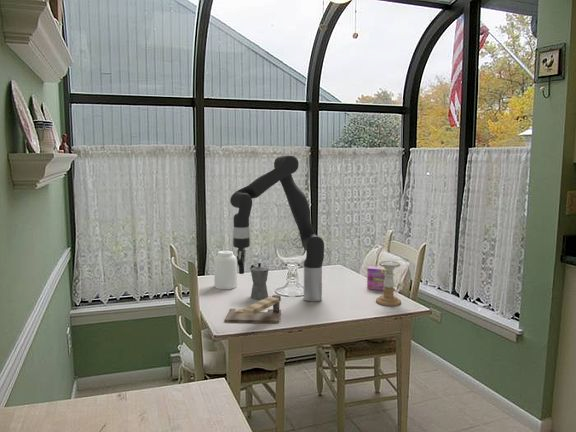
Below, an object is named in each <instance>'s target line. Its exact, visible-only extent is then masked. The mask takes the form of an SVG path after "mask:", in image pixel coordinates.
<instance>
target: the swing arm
mask: <svg viewBox="0 0 576 432" xmlns="http://www.w3.org/2000/svg"><path fill="white" fill-rule="evenodd" d="M279 301H280V302H281V301H282V300H281V295H279V294H273V295H272V296H268V297H267V298H265V299H261V300H259V301H256V302H254V303H252V304H250V305H248V306H246V307H243V308H242V309H243V313H244V314H249V315H254V314H256V313H258V312H260V311H262V310H264V309H268V308H270V307H273V305H275V304H277V303H279Z"/></svg>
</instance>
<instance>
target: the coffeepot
mask: <svg viewBox="0 0 576 432" xmlns="http://www.w3.org/2000/svg"><path fill="white" fill-rule="evenodd" d="M257 265H258V266H257ZM257 265H255V264H251V266H250V272H251V273H250V274H251V280H252V287H251V292H250V293H251V294H250V298H252V299H253V300H259V301H261V300H263V299H265V298H267V297H269V292H268V288H267V281H268V274H269V268H268V267H266V266H262V263H261V262H258V263H257Z"/></svg>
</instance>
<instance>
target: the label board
mask: <svg viewBox="0 0 576 432" xmlns="http://www.w3.org/2000/svg"><path fill="white" fill-rule="evenodd" d="M280 303H281V301H279V303H277V304H275V305H272V309H270V308H269V309H268V308H266V309H264V310H262V311H260V312H258V313H256V314H254V315H249V314H244V313H243V308H229V310H228V312H227V313H226V314H227V315H226V316H225V318H224V323H251V324H279V323H280V320H281V315H282V314H281V312H282V309H280Z"/></svg>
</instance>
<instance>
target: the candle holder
mask: <svg viewBox="0 0 576 432" xmlns="http://www.w3.org/2000/svg"><path fill="white" fill-rule="evenodd" d="M378 265H379V267H384V268H385V269H386V273H385V274H384V275H385V280H384V283H383V285H384V286H385V287H384V288H383V290H382V291H383V294H382V295H380V296H378V297H376V299H375V302H376V303H377V304H378V305H381V306H386V307H396V306H400V305H401V303H402V301H401V299H400V298H398V297H397V296H395V295H394V292H395V291H396V290H395V280H394V277H395V274H394V270H395V269H396V268H400V266H401V263H400V262H398V261H394V260H393V261H392V260H383V261H379V263H378Z"/></svg>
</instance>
